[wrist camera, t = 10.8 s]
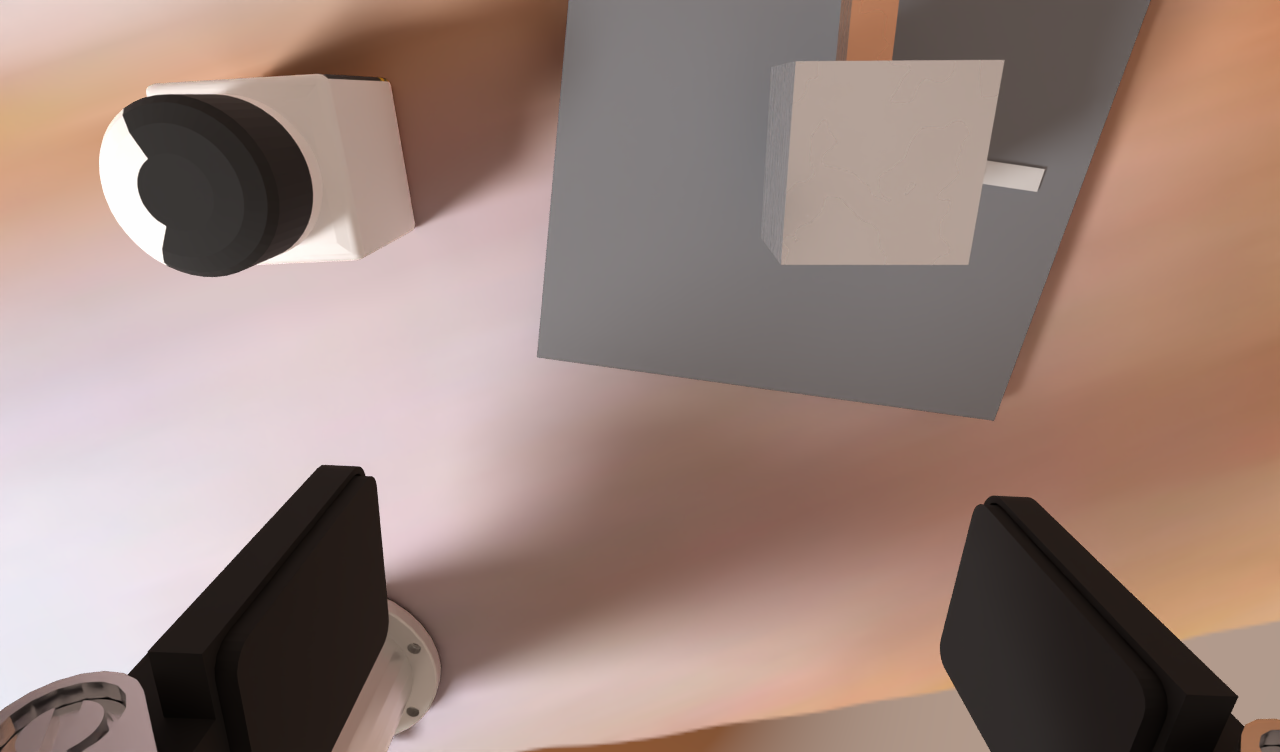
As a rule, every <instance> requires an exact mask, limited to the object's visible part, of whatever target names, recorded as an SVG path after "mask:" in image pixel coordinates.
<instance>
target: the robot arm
mask: <svg viewBox="0 0 1280 752" xmlns="http://www.w3.org/2000/svg"><path fill="white" fill-rule="evenodd" d="M940 655H941V660H942V663H943V666H944V668H945V670H946V672H947V673H948V675H949V677H950V679H951V681H952V682H953V684H954V686H955V688H956V690H957V691H958V693H959V695H960V697H961V699H962V701H963V702H964V704H965V706H966V708H967V709H968V711H969V713H970V715H971V717H972V719H973V720H974V722H975V724H976V726H977V728H978V729H979V731H980V733H981V735H982V737H983V738H984V740H985V742H986V744H987V746H988V747H989V749H990V751H991V752H1280V720H1278V719H1257V720H1255V721H1252V722H1250V723H1248V724H1246V725H1245V727H1244V726H1243V725H1242V724H1241V723H1240V722H1239V721H1238V720H1237V719H1236V718H1235V717H1234V716H1233V715H1232V714H1231V712H1232V709H1233V707H1234V705H1235V703H1236V700H1237V698H1238V696H1237V695H1236V694H1235V693H1234V692H1233V691H1232V690H1231V689H1230V688H1229V687H1228V686H1227V685H1226V684H1225V683H1223V682H1222V680H1221V679H1219V678H1218V677H1217V676H1216V675H1215V674H1214V673H1213V672H1212V671H1211V670H1210V669H1209V668H1208V667H1207V666H1206V665H1205V664H1204V663H1203V662H1202V661H1201V660H1200V659H1199V658H1198V657H1197V656H1196V655H1195V654H1193V652H1192V651H1191V650H1189V649H1188V648H1187V647H1186V646H1185V645H1184V644H1183V643H1182V642H1181V641H1180V640H1179V639H1178V638H1177V637H1176V636H1175V635H1174V634H1173V633H1172V632H1171V631H1170V630H1169V629H1168V628H1167V627H1166V626H1165V625H1164V624H1163V623H1162V622H1160V621H1159V620H1158V619H1157V618H1156V617H1155V616H1154V615H1153V614H1152V613H1151V612H1150V611H1149V610H1148V609H1147V608H1146V607H1145V606H1144V605H1143V604H1142V603H1141V602H1140V601H1139V600H1138V599H1137V598H1136V597H1135V596H1134V595H1133V594H1132V593H1130V592H1129V591H1128V590H1127V589H1126V588H1125V587H1124V586H1123V585H1122V584H1121V583H1120V582H1119V581H1118V580H1117V579H1116V578H1115V577H1114V576H1113V575H1112V574H1111V573H1110V572H1109V571H1108V570H1107V569H1106V568H1105V567H1104V566H1103V565H1101V564H1100V563H1099V562H1098V561H1097V560H1096V559H1095V558H1094V557H1093V556H1092V555H1091V554H1090V553H1089V552H1088V551H1087V550H1086V549H1085V548H1084V547H1083V546H1082V545H1081V544H1080V543H1079V542H1078V541H1077V540H1076V539H1075V538H1074V537H1072V536H1071V535H1070V534H1069V533H1068V532H1067V531H1066V530H1065V529H1064V528H1063V527H1062V526H1061V525H1060V524H1059V523H1058V522H1057V521H1056V520H1055V519H1054V518H1053V517H1052V516H1051V515H1050V514H1049V513H1048V512H1047V511H1046V510H1045V509H1044V508H1042V507H1041V506H1040V505H1039V504H1038V503H1037V502H1036V501H1035V500H1033V499H1032V498H1028V497H1010V496H991V497H989V498H988V499H987V500H986V501H985V503H984V504H980V505H978V506H976V508H975V509H974V512H973V515H972V519H971V522H970V526H969V530H968V534H967V538H966V542H965V546H964V550H963V554H962V558H961V562H960V566H959V570H958V574H957V578H956V582H955V586H954V590H953V594H952V598H951V602H950V605H949V609H948V613H947V617H946V621H945V625H944V629H943V633H942V637H941V642H940ZM440 676H441V665H440V660H439V655H438V651H437V649H436V647H435V645H434V643H433V640H432V638H431V637H430V636H429V634H428V633H427V631H426V630H425V629H424V627H423V626H422V625H421V624H420V623H419V622H418V621H417V620H416V619H415V618H414V617H413V616H412V615H411V614H410V613H409V612H407V611H406V610H404V609H403V608H402V607H400V606H399V605H397V604H396V603H394V602H393V601H391V600H388V599H387V591H386V580H385V570H384V559H383V548H382V537H381V527H380V516H379V505H378V494H377V485H376V481H375V478H374V477H372V476H365V473H364V471H363V469H362V468H361V467H357V466H335V465H321V466H320V467H319V468H317V469H316V471H315V472H314V473H313V474H312V475H311V476H310V477H309V478H308V479H307V480H306V481H305V482H304V483H303V485H302V486H301V487H300V488H299V489H298V490H297V491H296V492H295V493H294V494H293V495H292V496H291V498H290V499H289V500H288V501H287V502H286V503H285V504H284V505H283V506H282V507H281V508H280V509H279V510H278V512H277V513H276V514H275V515H274V516H273V517H272V518H271V519H270V520H269V521H268V522H267V523H266V524H265V526H264V527H263V528H262V529H261V530H260V531H259V532H258V533H257V534H256V535H255V536H254V537H253V538H252V540H251V541H250V542H249V543H248V544H247V545H246V546H245V547H244V548H243V549H242V550H241V551H240V553H239V554H238V555H237V556H236V557H235V558H234V559H233V560H232V561H231V562H230V563H229V564H228V565H227V567H226V568H225V569H224V570H223V571H222V572H221V573H220V574H219V575H218V576H217V577H216V578H215V579H214V581H213V582H212V583H211V584H210V585H209V586H208V587H207V588H206V589H205V590H204V591H203V592H202V594H201V595H200V596H199V597H198V598H197V599H196V600H195V601H194V602H193V603H192V604H191V605H190V606H189V608H188V609H187V610H186V611H185V612H184V613H183V614H182V615H181V616H180V617H179V618H178V619H177V620H176V622H175V623H174V624H173V625H172V626H171V627H170V628H169V629H168V630H167V631H166V632H165V633H164V634H163V636H162V637H161V638H160V639H159V640H158V641H157V642H156V643H155V644H154V645H153V646H152V647H151V649H150V650H149V651H148V653H147V654H146V655H145V656H144V658H143V659H142V660H141V661H140V662H139V663H138V664H137V665H136V666H135V667H134V668H133V669H132V670H131V672H130V673H129V674H128V675H127V674H125V673H118V672H109V671H101V672H92V673H83V674H79V675H75V676H72V677H68V678H65V679H61V680H58V681H55V682H52V683H50V684H48V685H46V686H43V687H41V688H39V689H36V690H34V691H32V692H30V693H28V694H26V695H25V696H23V697H21V698H20V699H18V700H16V701H15V702H13V703H11V704H10V705H8V706H6V707H5V708H4V709H2V710H1V711H0V752H387V750H388V748H389V745H390V743H391V741H392V738H393V736H394V735H396V734H398V733H400V732H402V731H404V730H406V729H408V728H410V727H412V726H413V725H414V724H415V723H417V722H418V721H419V720H420V719H422V717H423V716H424V715H425V714H426V712H427V711H428V710H429V709H430V707H431V704H432V702H433V700H434V698H435V695H436V693H437V689H438V686H439V683H440Z"/></svg>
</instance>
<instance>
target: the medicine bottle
mask: <svg viewBox="0 0 1280 752" xmlns="http://www.w3.org/2000/svg"><path fill="white" fill-rule="evenodd" d="M146 94H147V97H145V98H142V99H140V100H137V101H135V102H133V103H131V104H130V105H128V106H127V107H125V108H124V109H123V110H122V111H121V112H120V113H118V114H117V115H116V116H115V118H114V119H113V121H112V122H111V123H110V125H109V126H108V128H107V131H106V133H105V135H104V137H103V141H102V145H101V149H100V158H99V166H100V178H101V183H102V188H103V191H104V195H105V198H106V200H107V203H108V205H109V207H110V209H111V211H112V213H113V215H114V216H115V218H116V220H117V221H118V223H119V224H120V226H121V227H122V228H123V230H124V231H125V232H126V233H127V234H128V235H129V237H130V238H131V239H132V240H133V241H134V242H135V243H136V244H137V245H138V246H139V247H140V248H142V249H143V250H144V251H145V252H146V253H148V254H149V255H150V256H152V257H153V258H155V259H156V260H158V261H159V262H161V263H163V264H165V265H167V266H169V267H171V268H173V269H176V270H178V271H181V272H184V273H188V274H191V275H197V276H203V277H219V276H227V275H230V274H234V273H237V272H240V271H242V270H245V269H247V268H249V267H252V266H254V265H267V264H288V263H309V262H330V261H351V260H360V259H362V258H364V257H366V256H368V255H369V254H371V253H373V252H375V251H377V250H378V249H380V248H382V247H384V246H386V245H387V244H389V243H391V242H393V241H395V240H396V239H398V238H400V237H402V236H404V235H405V234H407V233H409V232H411V231H412V230H413V229H414V228H415V221H414V215H413V209H412V204H411V198H410V192H409V186H408V181H407V175H406V169H405V163H404V158H403V152H402V146H401V140H400V135H399V129H398V123H397V117H396V112H395V106H394V100H393V94H392V89H391V85H390V82H389V81H388V80H386V79H385V78H379V77H363V76H346V75H330V74H307V75H290V76H273V77H256V78H239V79H223V80H206V81H189V82H172V83H155V84H152V85H150V86H148V88H147V89H146Z"/></svg>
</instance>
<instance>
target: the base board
mask: <svg viewBox="0 0 1280 752" xmlns="http://www.w3.org/2000/svg"><path fill="white" fill-rule="evenodd" d="M1150 1H1151V0H899V6H898V14H897V23H896V31H895V39H894V48H893V56H892V61H904V60H1004V66H1003V72H1002V77H1001V83H1000V89H999V94H998V100H997V106H996V111H995V117H994V123H993V128H992V134H991V140H990V145H989V151H988V157H987V162H986V168H985V174H984V179H983V185H982V190H981V196H980V202H979V207H978V213H977V219H976V224H975V230H974V236H973V241H972V247H971V253H970V258H969V264H968V265H781V264H780V263H779V262H778V260H777V259H776V257H775V256H774V255H773V253H772V252H771V250H770V249H769V248H768V246H767V245H766V244H765V242H764V241H763V239H762V238H761V227H762V210H763V194H764V178H765V161H766V145H767V128H768V112H769V95H770V79H771V67H774V66H778V65H782V64H786V63H790V62H795V61H836V53H837V42H838V32H839V21H840V10H841V0H569V2H568V14H567V25H566V36H565V47H564V59H563V70H562V81H561V92H560V104H559V115H558V126H557V138H556V149H555V160H554V171H553V183H552V194H551V205H550V216H549V228H548V239H547V250H546V262H545V273H544V284H543V295H542V307H541V318H540V329H539V340H538V352H537V357H538V358H546V359H553V360H560V361H567V362H574V363H582V364H589V365H596V366H603V367H610V368H618V369H625V370H632V371H639V372H646V373H654V374H661V375H668V376H675V377H682V378H690V379H697V380H704V381H711V382H718V383H726V384H733V385H740V386H747V387H754V388H762V389H769V390H776V391H783V392H790V393H798V394H805V395H812V396H819V397H826V398H834V399H841V400H848V401H855V402H862V403H870V404H877V405H884V406H891V407H898V408H906V409H913V410H920V411H927V412H934V413H942V414H949V415H956V416H963V417H970V418H978V419H985V420H992V421H994V419H995V417H996V414H997V411H998V409H999V406H1000V403H1001V401H1002V398H1003V395H1004V393H1005V390H1006V387H1007V385H1008V382H1009V379H1010V376H1011V374H1012V371H1013V368H1014V366H1015V363H1016V360H1017V358H1018V355H1019V352H1020V350H1021V347H1022V344H1023V342H1024V339H1025V336H1026V334H1027V331H1028V328H1029V325H1030V323H1031V320H1032V317H1033V315H1034V312H1035V309H1036V307H1037V304H1038V301H1039V299H1040V296H1041V293H1042V291H1043V288H1044V285H1045V283H1046V280H1047V277H1048V274H1049V272H1050V269H1051V266H1052V264H1053V261H1054V258H1055V256H1056V253H1057V250H1058V248H1059V245H1060V242H1061V240H1062V237H1063V234H1064V232H1065V229H1066V226H1067V223H1068V221H1069V218H1070V215H1071V213H1072V210H1073V207H1074V205H1075V202H1076V199H1077V197H1078V194H1079V191H1080V189H1081V186H1082V183H1083V181H1084V178H1085V175H1086V172H1087V170H1088V167H1089V164H1090V162H1091V159H1092V156H1093V154H1094V151H1095V148H1096V146H1097V143H1098V140H1099V138H1100V135H1101V132H1102V130H1103V127H1104V124H1105V121H1106V119H1107V116H1108V113H1109V111H1110V108H1111V105H1112V103H1113V100H1114V97H1115V95H1116V92H1117V89H1118V87H1119V84H1120V81H1121V79H1122V76H1123V73H1124V70H1125V68H1126V65H1127V62H1128V60H1129V57H1130V54H1131V52H1132V49H1133V46H1134V44H1135V41H1136V38H1137V36H1138V33H1139V30H1140V28H1141V25H1142V22H1143V19H1144V17H1145V14H1146V11H1147V9H1148V6H1149V3H1150Z"/></svg>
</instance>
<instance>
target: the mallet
mask: <svg viewBox="0 0 1280 752" xmlns="http://www.w3.org/2000/svg"><path fill="white" fill-rule="evenodd" d="M898 6H899V0H841V10H840V21H839V32H838V42H837V53H836V61H795V62H790V63H786V64H782V65H778V66H774V67H771V79H770V95H769V112H768V128H767V145H766V161H765V178H764V194H763V210H762V227H761V238H762V239H763V241H764V242H765V244H766V245H767V246H768V248H769V249H770V250H771V252H772V253H773V255H774V256H775V257H776V259H777V260H778V262H779V263H780V264H781V265H968V264H969V258H970V253H971V247H972V241H973V236H974V230H975V224H976V219H977V213H978V207H979V202H980V196H981V190H982V185H983V179H984V174H985V168H986V162H987V157H988V151H989V145H990V140H991V134H992V128H993V123H994V117H995V111H996V106H997V100H998V94H999V89H1000V83H1001V77H1002V72H1003V66H1004V60H904V61H892V56H893V48H894V39H895V31H896V23H897V14H898Z"/></svg>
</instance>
